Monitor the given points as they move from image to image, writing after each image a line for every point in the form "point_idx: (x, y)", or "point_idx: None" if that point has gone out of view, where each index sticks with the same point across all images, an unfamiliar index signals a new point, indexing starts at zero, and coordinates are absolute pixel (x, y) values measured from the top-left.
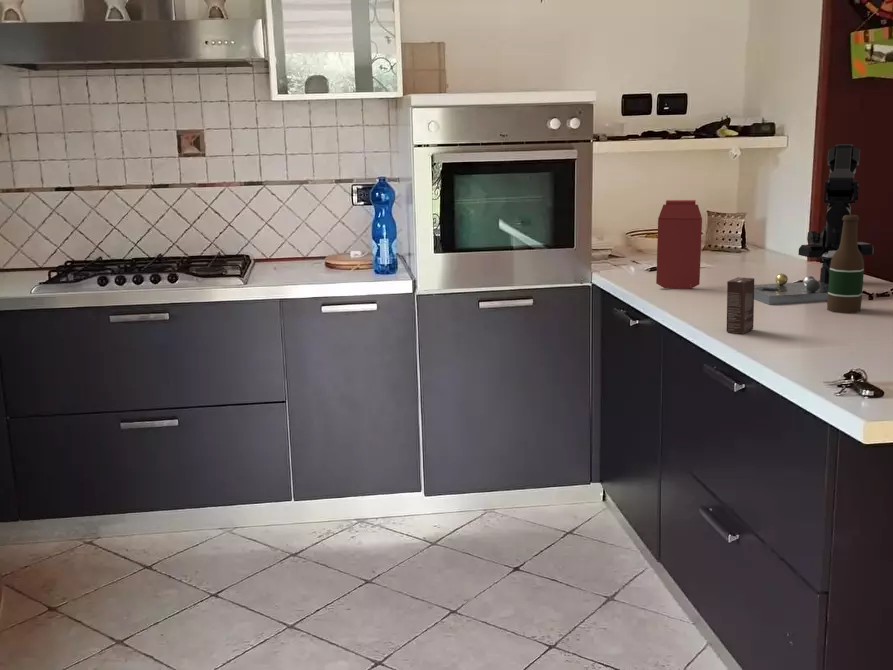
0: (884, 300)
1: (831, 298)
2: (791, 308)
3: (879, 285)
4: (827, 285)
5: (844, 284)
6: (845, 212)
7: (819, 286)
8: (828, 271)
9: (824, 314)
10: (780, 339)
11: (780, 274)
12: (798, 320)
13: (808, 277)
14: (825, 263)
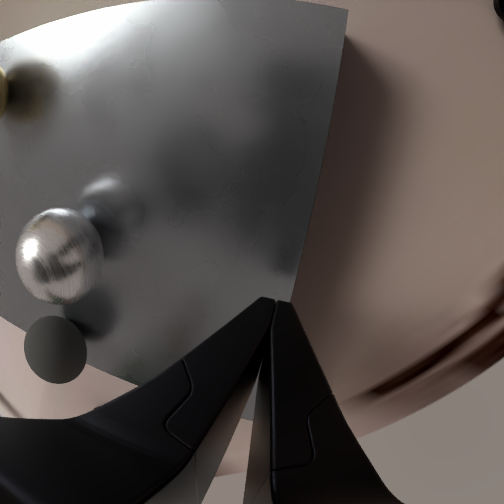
0: (402, 416)
1: None
2: (25, 332)
3: None
4: (265, 232)
5: None
6: None
7: (79, 373)
8: (200, 346)
9: (83, 410)
10: (15, 415)
11: None
12: (33, 396)
13: (26, 286)
14: (103, 406)
